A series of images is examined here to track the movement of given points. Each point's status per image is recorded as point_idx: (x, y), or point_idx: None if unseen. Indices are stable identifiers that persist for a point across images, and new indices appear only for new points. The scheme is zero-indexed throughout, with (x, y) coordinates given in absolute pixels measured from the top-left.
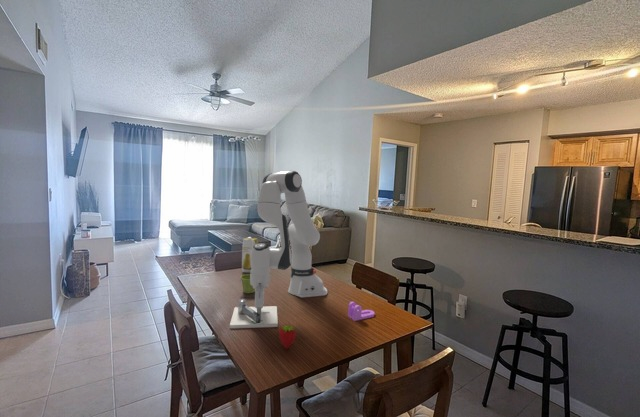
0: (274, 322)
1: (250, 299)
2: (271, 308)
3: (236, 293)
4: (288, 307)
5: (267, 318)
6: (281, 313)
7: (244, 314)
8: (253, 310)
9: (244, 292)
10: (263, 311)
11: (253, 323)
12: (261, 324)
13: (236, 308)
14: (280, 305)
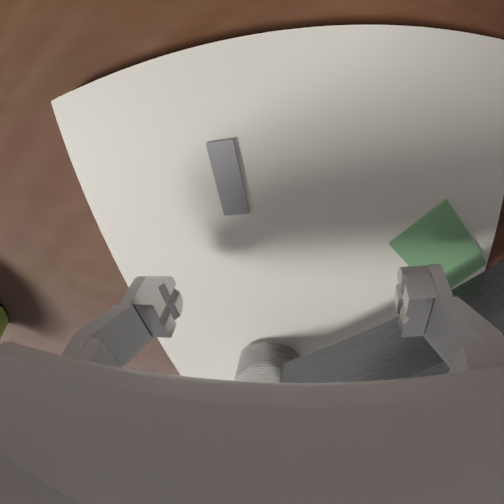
0: (492, 73)
1: (36, 298)
2: (111, 140)
3: (31, 345)
4: (26, 6)
5: (393, 151)
6: (151, 11)
7: (291, 344)
8: (435, 366)
9: (7, 321)
10: (203, 211)
11: (471, 274)
12: (498, 207)
13: (201, 377)
14: (11, 88)
